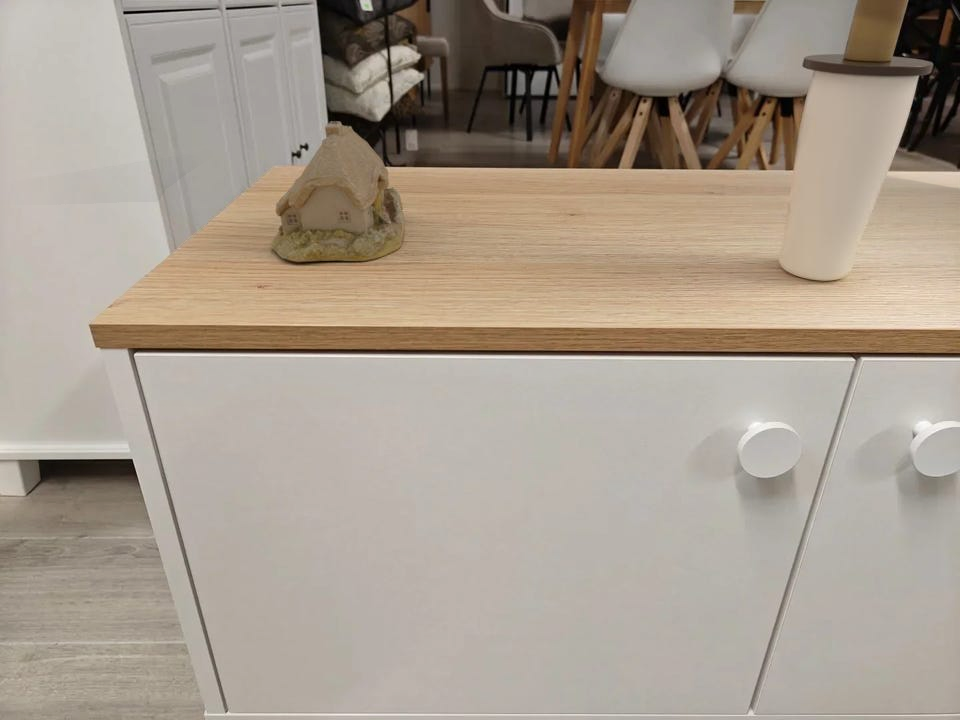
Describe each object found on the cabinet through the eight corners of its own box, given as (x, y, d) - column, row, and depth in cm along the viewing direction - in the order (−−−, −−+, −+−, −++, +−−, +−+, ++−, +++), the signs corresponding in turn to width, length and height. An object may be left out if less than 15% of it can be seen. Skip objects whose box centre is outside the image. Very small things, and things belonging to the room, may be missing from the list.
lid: (829, 60, 52) (851, -32, 49) (946, 69, 47) (979, -32, 44) (782, 68, 47) (803, -33, 44) (907, 79, 42) (940, -34, 39)
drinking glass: (804, 291, 51) (861, 76, 43) (750, 259, 56) (792, 65, 49) (879, 282, 52) (945, 73, 45) (818, 252, 58) (869, 63, 50)
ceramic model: (390, 268, 54) (381, 140, 49) (255, 263, 55) (234, 137, 50) (419, 215, 67) (415, 109, 62) (309, 211, 67) (296, 106, 63)
